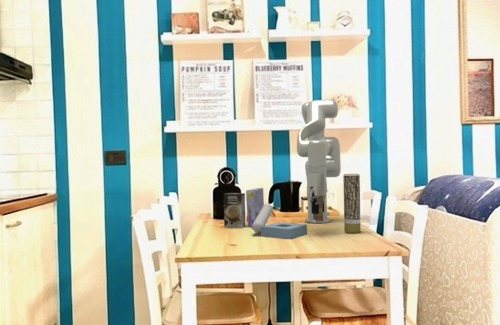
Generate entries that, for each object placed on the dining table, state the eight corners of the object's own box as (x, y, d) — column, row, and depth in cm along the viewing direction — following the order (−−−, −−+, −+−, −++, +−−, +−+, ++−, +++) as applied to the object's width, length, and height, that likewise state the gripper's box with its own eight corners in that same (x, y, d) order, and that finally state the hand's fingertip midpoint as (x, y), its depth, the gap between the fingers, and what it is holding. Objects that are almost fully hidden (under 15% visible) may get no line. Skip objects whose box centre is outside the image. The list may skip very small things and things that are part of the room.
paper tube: (347, 230, 202) (346, 173, 202) (362, 231, 199) (361, 173, 199) (342, 233, 197) (341, 174, 196) (357, 234, 193) (356, 174, 193)
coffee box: (223, 227, 217) (223, 193, 217) (227, 225, 224) (226, 192, 223) (242, 228, 215) (241, 193, 215) (245, 226, 221) (245, 192, 221)
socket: (279, 231, 204) (279, 222, 204) (306, 233, 196) (306, 224, 196) (261, 236, 193) (260, 226, 193) (289, 239, 185) (289, 229, 185)
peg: (316, 219, 198) (315, 191, 197) (324, 220, 195) (324, 191, 195) (311, 220, 194) (311, 192, 194) (320, 221, 192) (319, 192, 191)
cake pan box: (256, 221, 237) (255, 187, 236) (265, 221, 235) (265, 187, 235) (246, 227, 218) (245, 190, 218) (256, 227, 217) (255, 190, 216)
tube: (265, 226, 192) (275, 207, 215) (253, 220, 192) (265, 201, 216) (259, 236, 193) (269, 216, 217) (248, 230, 194) (260, 210, 217)
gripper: (318, 168, 203) (319, 209, 204) (299, 171, 189) (300, 215, 190) (334, 168, 198) (334, 210, 199) (315, 171, 185) (316, 216, 186)
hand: (318, 212), depth 195 cm, fingers closed on peg, 4 cm apart
